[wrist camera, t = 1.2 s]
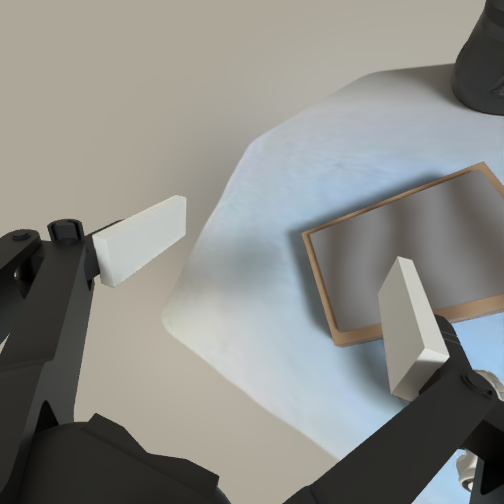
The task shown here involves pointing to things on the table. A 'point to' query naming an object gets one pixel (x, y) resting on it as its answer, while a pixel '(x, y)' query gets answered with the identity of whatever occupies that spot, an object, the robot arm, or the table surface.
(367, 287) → the riser
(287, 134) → the table surface
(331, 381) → the table surface
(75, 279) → the robot arm
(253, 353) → the table surface
